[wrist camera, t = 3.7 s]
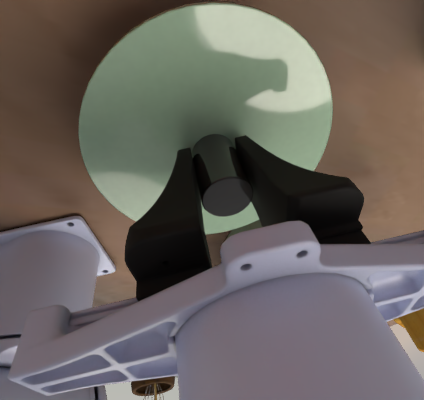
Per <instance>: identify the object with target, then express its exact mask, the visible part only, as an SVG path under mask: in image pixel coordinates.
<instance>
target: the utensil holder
mask: <svg viewBox="0 0 424 400" xmlns="http://www.w3.org/2000/svg"><path fill="white" fill-rule="evenodd" d="M174 381H175V376H171V377H163V378H155V379H147V380H139V381H132V382H131V387H132V393H133V394H135V395H138V396H145V397H146V396H150V395H154V400H157V394H159V396H160V394H161V393H164V392H166V391H169V390H171V389H172V388H173V387H174ZM160 398H161V397H160Z"/></svg>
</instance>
